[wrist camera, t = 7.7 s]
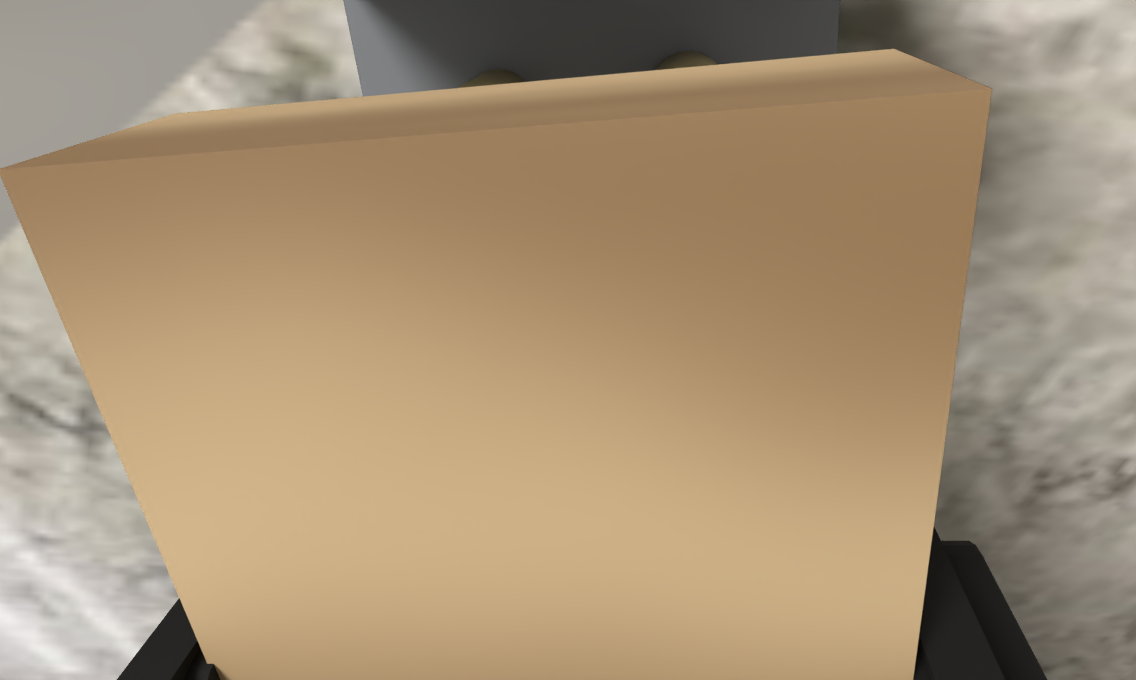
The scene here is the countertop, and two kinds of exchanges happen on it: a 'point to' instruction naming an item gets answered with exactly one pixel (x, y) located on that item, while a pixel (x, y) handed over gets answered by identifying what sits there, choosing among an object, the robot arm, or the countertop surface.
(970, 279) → the countertop surface
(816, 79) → the shelf board
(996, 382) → the countertop surface
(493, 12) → the cabinet stand
